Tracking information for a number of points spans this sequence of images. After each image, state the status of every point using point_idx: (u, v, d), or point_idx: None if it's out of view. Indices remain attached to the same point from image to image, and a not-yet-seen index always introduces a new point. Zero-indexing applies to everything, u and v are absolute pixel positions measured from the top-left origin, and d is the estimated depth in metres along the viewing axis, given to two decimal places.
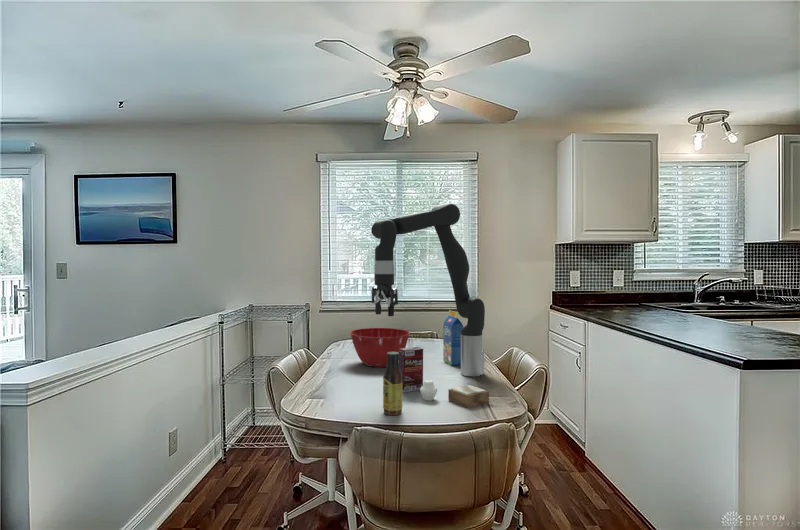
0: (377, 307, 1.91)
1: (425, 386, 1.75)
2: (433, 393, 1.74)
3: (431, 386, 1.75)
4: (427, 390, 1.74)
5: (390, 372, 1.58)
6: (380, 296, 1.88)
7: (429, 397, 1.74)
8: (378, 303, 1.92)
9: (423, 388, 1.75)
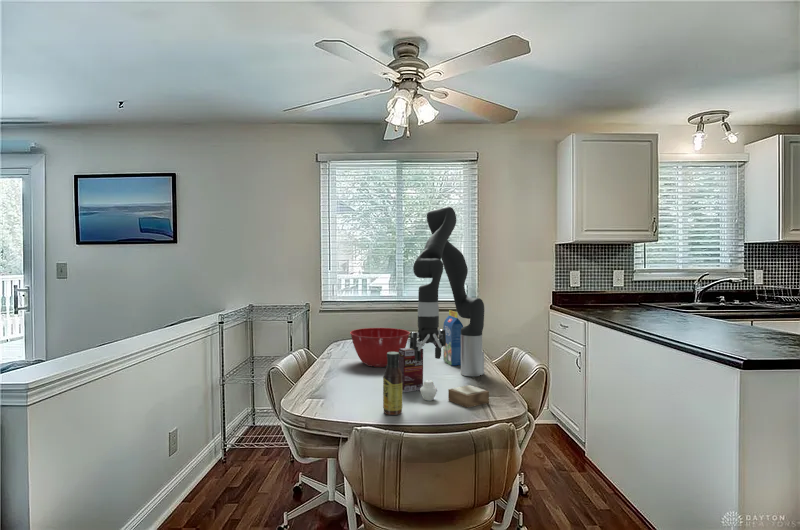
0: None
1: (425, 386, 1.75)
2: (433, 393, 1.74)
3: (431, 386, 1.75)
4: (427, 390, 1.74)
5: (390, 372, 1.58)
6: (427, 340, 1.75)
7: (429, 397, 1.74)
8: None
9: (423, 388, 1.75)
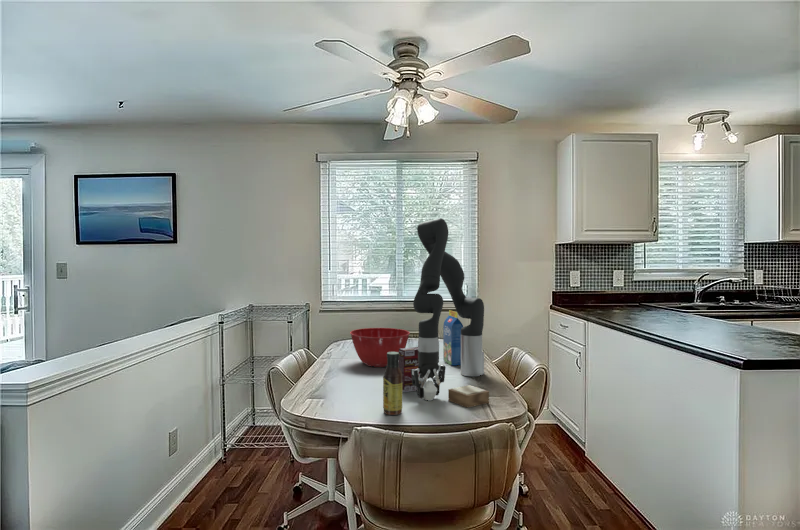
0: None
1: (425, 386, 1.75)
2: (433, 393, 1.74)
3: (431, 386, 1.75)
4: (427, 390, 1.74)
5: (390, 372, 1.58)
6: (428, 375, 1.75)
7: (429, 397, 1.74)
8: None
9: None
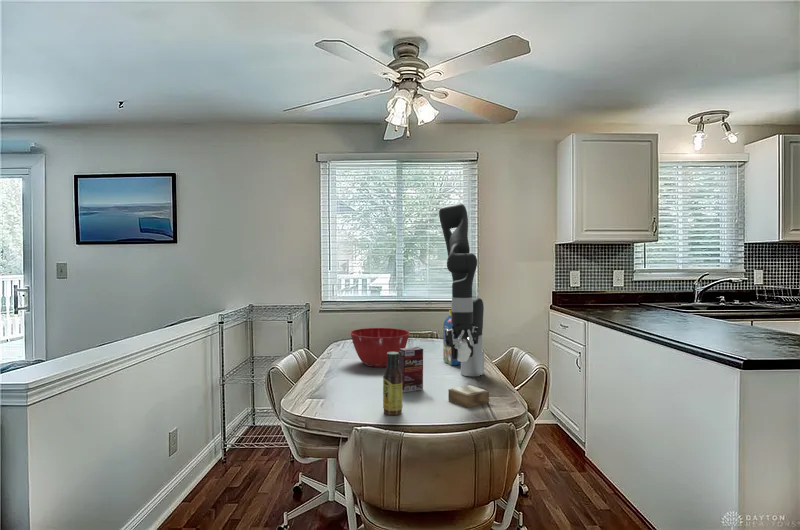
0: None
1: (459, 347, 1.72)
2: (467, 354, 1.72)
3: (465, 347, 1.72)
4: (461, 351, 1.71)
5: (390, 372, 1.58)
6: (462, 336, 1.72)
7: (463, 358, 1.72)
8: None
9: None
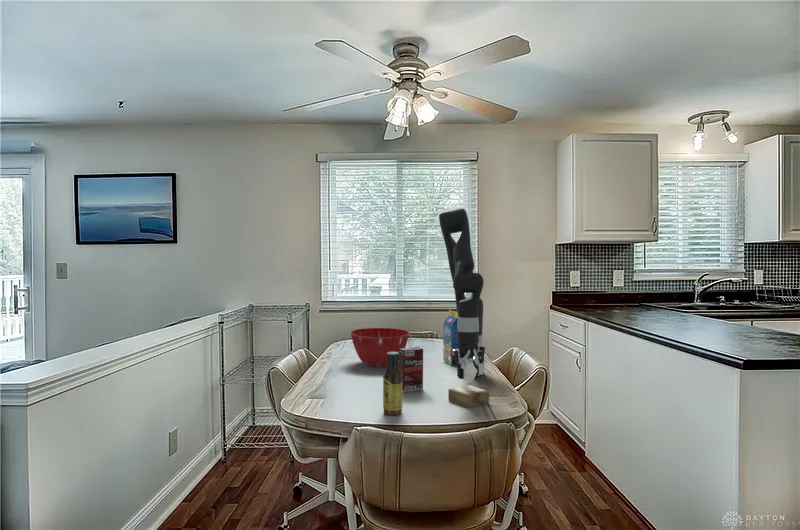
0: None
1: (465, 367, 1.72)
2: (473, 374, 1.71)
3: (471, 367, 1.72)
4: (467, 371, 1.71)
5: (390, 372, 1.58)
6: (468, 355, 1.72)
7: (469, 378, 1.71)
8: None
9: None
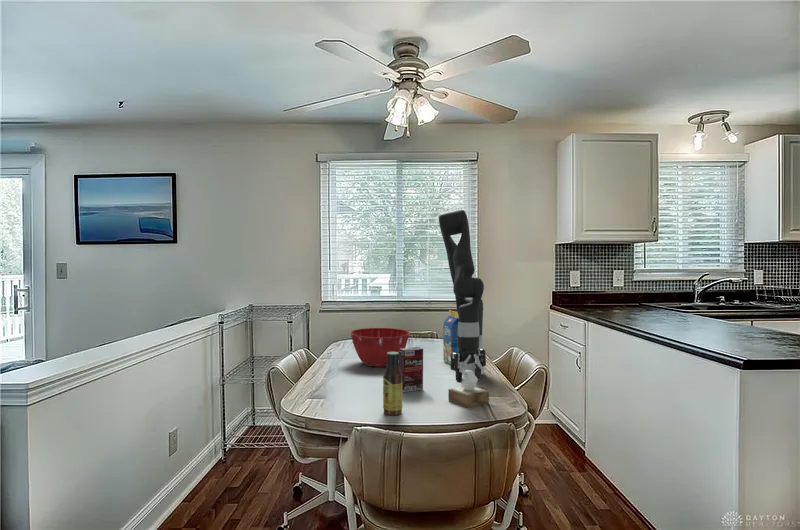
0: None
1: (465, 376, 1.72)
2: (474, 383, 1.71)
3: (472, 375, 1.72)
4: (468, 379, 1.71)
5: (390, 372, 1.58)
6: (468, 361, 1.72)
7: (470, 387, 1.71)
8: None
9: (463, 378, 1.72)
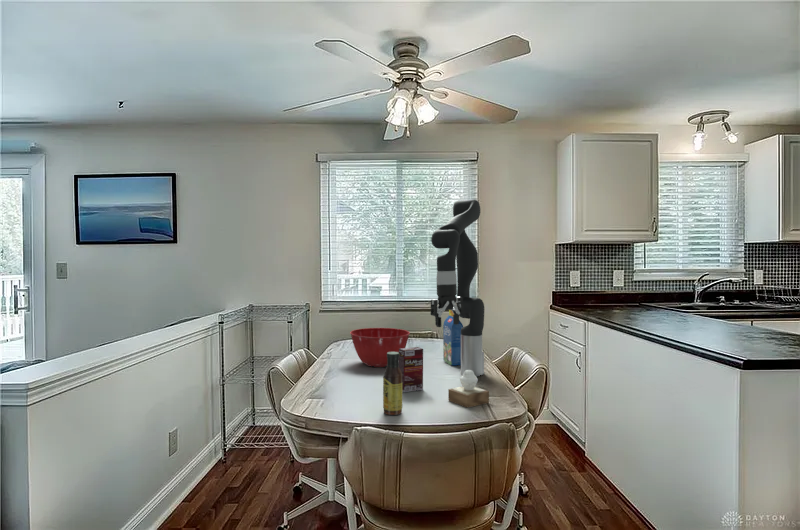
0: None
1: (465, 376, 1.72)
2: (474, 383, 1.71)
3: (472, 376, 1.72)
4: (468, 380, 1.71)
5: (390, 372, 1.58)
6: (446, 307, 1.85)
7: (470, 387, 1.71)
8: None
9: (463, 378, 1.72)
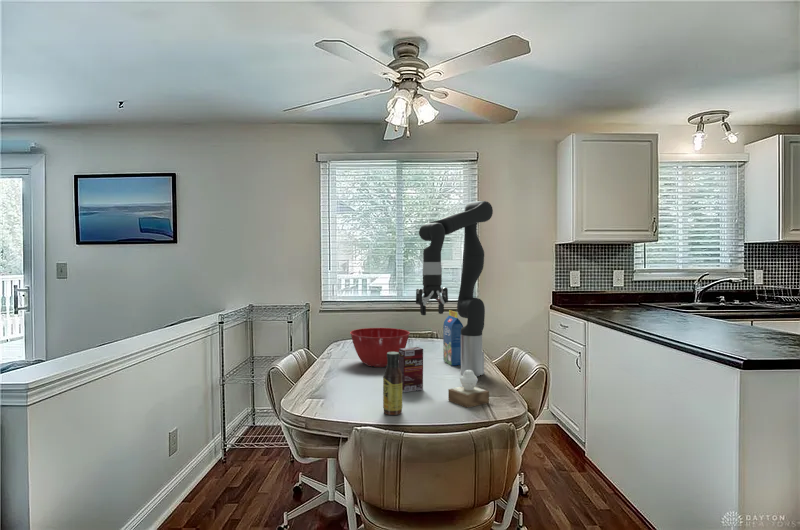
0: None
1: (465, 376, 1.72)
2: (474, 383, 1.71)
3: (472, 376, 1.72)
4: (468, 380, 1.71)
5: (390, 372, 1.58)
6: (431, 296, 1.94)
7: (470, 387, 1.71)
8: None
9: (463, 378, 1.72)
